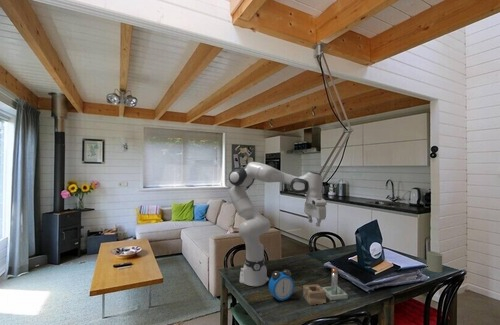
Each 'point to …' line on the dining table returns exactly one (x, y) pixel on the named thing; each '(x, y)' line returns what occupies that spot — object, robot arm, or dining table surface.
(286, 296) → the alarm clock
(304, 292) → the block
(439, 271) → the can
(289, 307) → the dining table surface
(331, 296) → the tray
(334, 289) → the pin
